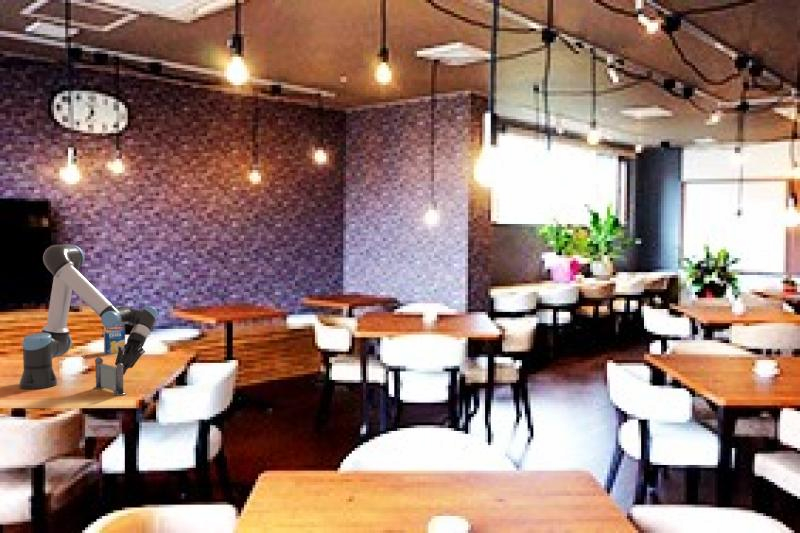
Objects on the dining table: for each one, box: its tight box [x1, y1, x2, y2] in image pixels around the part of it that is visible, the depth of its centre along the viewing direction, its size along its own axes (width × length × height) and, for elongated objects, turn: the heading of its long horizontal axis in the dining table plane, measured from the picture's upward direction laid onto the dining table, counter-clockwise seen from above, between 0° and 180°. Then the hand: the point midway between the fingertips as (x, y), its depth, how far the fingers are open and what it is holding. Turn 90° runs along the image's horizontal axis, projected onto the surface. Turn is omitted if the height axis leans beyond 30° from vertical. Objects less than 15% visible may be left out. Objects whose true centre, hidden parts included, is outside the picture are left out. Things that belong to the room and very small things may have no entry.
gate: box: [100, 363, 118, 392], centre depth 310 cm, size 14×2×10 cm, turn 49°
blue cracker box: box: [103, 324, 126, 355], centre depth 410 cm, size 7×11×22 cm, turn 118°
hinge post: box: [93, 356, 104, 390], centre depth 316 cm, size 5×5×14 cm
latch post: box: [112, 363, 128, 397], centre depth 305 cm, size 6×5×14 cm
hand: (116, 380), depth 311 cm, fingers closed
